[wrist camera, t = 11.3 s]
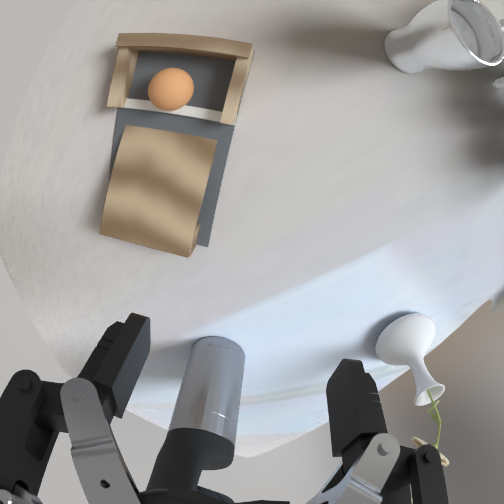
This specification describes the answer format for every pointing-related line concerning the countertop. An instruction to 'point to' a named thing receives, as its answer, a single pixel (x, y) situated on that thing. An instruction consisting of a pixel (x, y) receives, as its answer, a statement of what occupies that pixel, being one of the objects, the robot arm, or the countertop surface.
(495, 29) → the beer glass
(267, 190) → the countertop surface
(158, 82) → the ball
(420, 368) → the flower in vase
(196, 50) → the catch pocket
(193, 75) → the mat
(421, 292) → the countertop surface
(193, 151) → the ramp
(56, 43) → the countertop surface
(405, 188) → the countertop surface
